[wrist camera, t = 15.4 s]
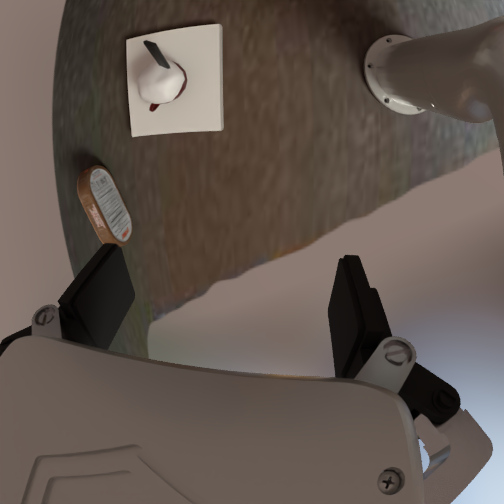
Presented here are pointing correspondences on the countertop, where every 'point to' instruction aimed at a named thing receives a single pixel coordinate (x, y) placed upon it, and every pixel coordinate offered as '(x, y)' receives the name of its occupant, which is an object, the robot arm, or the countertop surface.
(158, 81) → the cocoa
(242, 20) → the countertop surface
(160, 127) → the cutting board
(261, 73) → the countertop surface
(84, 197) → the tin
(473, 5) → the countertop surface
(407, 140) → the countertop surface
